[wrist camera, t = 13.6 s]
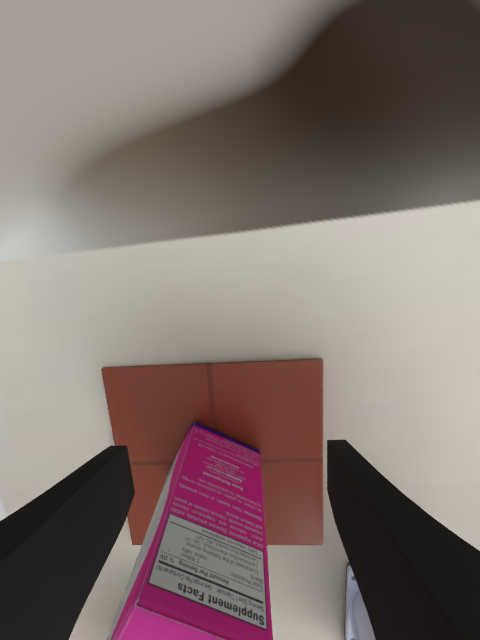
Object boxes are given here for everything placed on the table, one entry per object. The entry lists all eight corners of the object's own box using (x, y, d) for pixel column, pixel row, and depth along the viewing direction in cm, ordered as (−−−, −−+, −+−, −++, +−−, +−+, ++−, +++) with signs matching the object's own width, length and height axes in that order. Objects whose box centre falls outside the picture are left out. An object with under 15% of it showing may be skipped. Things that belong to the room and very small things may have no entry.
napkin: (321, 541, 23) (322, 545, 23) (133, 541, 24) (132, 545, 24) (321, 358, 20) (322, 360, 19) (103, 367, 21) (100, 368, 20)
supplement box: (233, 506, 22) (211, 755, 11) (165, 476, 22) (73, 701, 11) (265, 450, 21) (277, 667, 10) (194, 418, 21) (123, 603, 10)
